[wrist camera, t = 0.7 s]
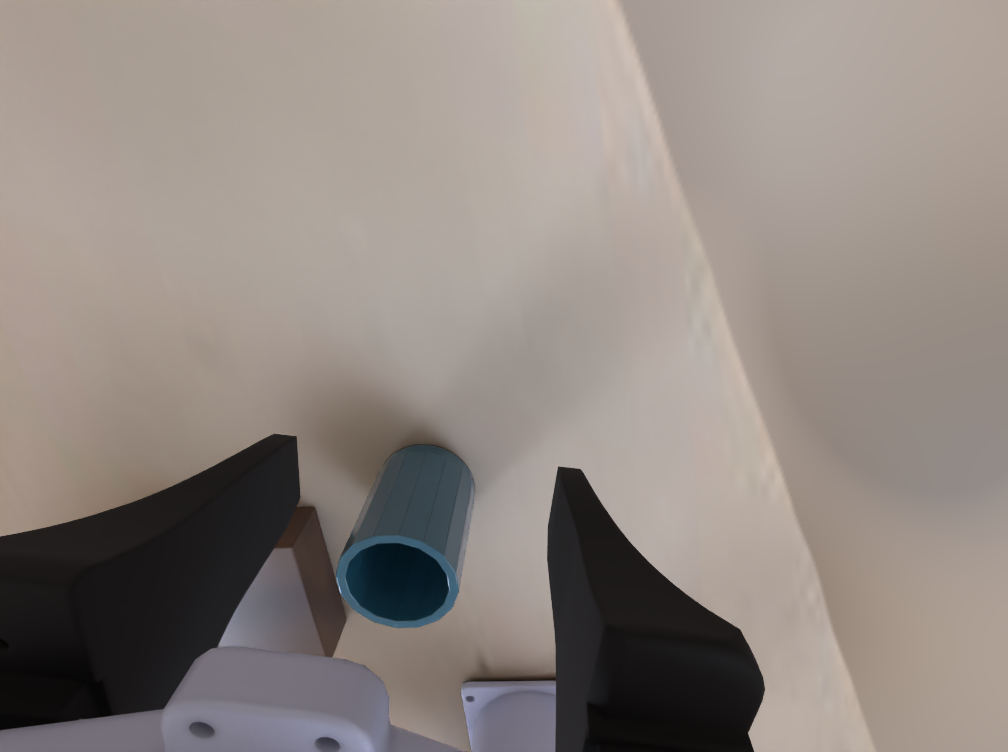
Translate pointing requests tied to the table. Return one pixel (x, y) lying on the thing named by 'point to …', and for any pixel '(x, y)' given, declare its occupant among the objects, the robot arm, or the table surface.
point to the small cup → (409, 539)
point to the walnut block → (291, 596)
